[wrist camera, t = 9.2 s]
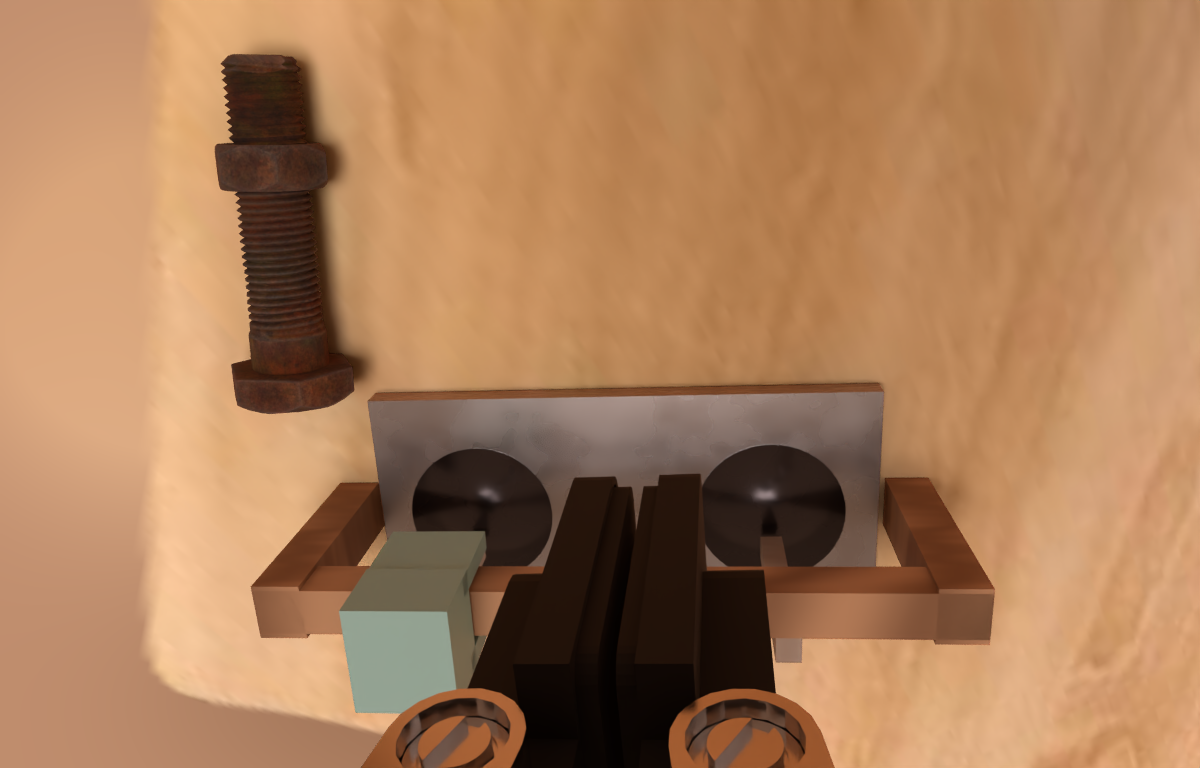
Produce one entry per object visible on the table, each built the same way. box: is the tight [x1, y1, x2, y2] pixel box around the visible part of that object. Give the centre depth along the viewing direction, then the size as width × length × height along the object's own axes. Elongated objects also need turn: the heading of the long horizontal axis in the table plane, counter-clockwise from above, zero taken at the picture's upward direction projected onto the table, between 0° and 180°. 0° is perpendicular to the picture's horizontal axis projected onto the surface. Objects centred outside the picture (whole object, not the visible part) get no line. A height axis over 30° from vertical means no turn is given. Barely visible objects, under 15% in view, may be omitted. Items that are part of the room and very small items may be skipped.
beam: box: [251, 478, 995, 663], centre depth 40 cm, size 29×3×10 cm, turn 93°
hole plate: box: [368, 383, 884, 567], centre depth 44 cm, size 24×12×1 cm, turn 93°
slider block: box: [339, 531, 487, 713], centre depth 39 cm, size 4×4×12 cm
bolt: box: [215, 54, 354, 414], centre depth 40 cm, size 6×5×15 cm
